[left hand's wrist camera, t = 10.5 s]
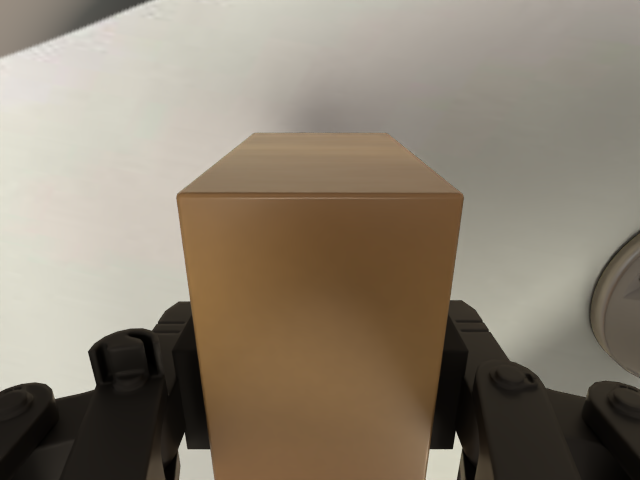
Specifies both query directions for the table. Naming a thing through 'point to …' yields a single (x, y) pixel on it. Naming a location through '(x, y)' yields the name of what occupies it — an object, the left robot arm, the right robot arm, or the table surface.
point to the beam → (320, 304)
